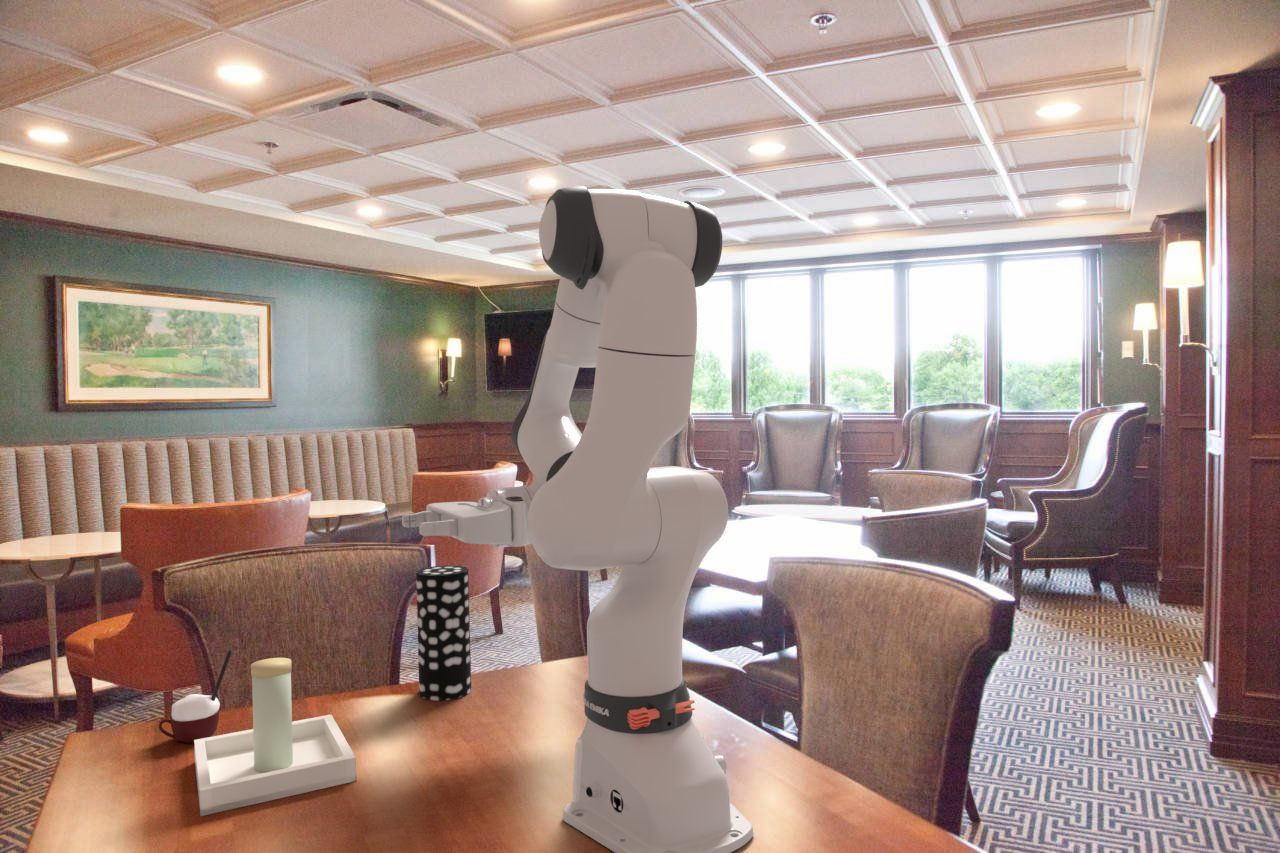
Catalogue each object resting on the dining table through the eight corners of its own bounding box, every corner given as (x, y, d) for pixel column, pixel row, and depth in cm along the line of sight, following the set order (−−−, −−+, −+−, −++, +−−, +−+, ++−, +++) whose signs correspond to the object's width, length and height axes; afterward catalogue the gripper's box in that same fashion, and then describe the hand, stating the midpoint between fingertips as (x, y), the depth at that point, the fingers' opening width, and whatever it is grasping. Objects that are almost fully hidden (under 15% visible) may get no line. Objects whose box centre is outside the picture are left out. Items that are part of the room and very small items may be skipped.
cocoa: (155, 750, 119) (146, 666, 118) (178, 731, 125) (169, 651, 124) (224, 745, 119) (216, 661, 118) (243, 726, 125) (236, 646, 124)
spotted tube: (458, 702, 135) (455, 576, 134) (410, 699, 136) (406, 574, 136) (479, 684, 143) (476, 566, 142) (432, 682, 144) (429, 565, 144)
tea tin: (296, 767, 109) (293, 664, 109) (255, 775, 107) (252, 670, 107) (290, 754, 113) (288, 655, 113) (251, 762, 111) (248, 661, 111)
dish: (356, 780, 107) (355, 757, 107) (200, 816, 98) (199, 790, 98) (331, 735, 122) (331, 714, 122) (194, 762, 113) (194, 739, 113)
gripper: (480, 490, 136) (393, 496, 129) (529, 502, 118) (430, 510, 111) (481, 529, 136) (394, 537, 129) (530, 547, 118) (431, 558, 112)
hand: (411, 525), depth 120 cm, fingers open, 8 cm apart
